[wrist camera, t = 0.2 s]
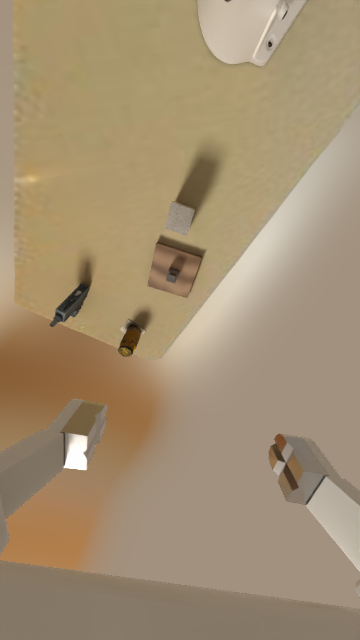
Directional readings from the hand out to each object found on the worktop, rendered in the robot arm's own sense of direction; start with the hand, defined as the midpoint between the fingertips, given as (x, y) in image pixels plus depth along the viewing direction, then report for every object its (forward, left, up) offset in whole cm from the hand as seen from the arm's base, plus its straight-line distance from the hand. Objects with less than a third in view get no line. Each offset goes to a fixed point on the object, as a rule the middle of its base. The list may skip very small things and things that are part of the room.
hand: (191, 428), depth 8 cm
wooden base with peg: (+11, +4, -52) cm, 53 cm away
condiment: (+41, +12, -52) cm, 67 cm away
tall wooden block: (-1, -6, -52) cm, 52 cm away
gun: (+45, -10, -52) cm, 70 cm away
